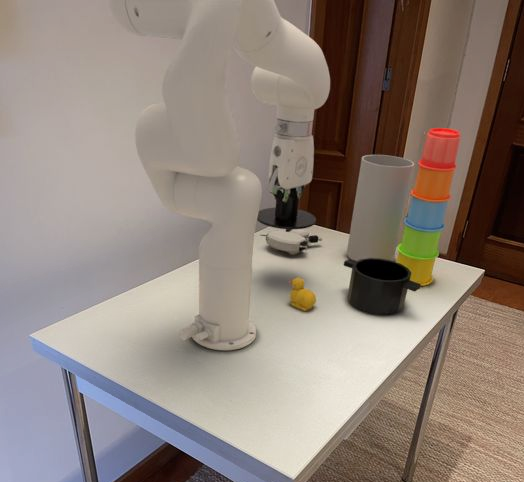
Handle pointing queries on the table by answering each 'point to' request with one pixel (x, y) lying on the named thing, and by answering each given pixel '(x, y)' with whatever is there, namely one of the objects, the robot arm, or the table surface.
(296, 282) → the duck
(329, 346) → the table surface
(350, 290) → the pan
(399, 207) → the cylinder vase
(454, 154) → the stacking cups
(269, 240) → the robot toy
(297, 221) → the pan lid
